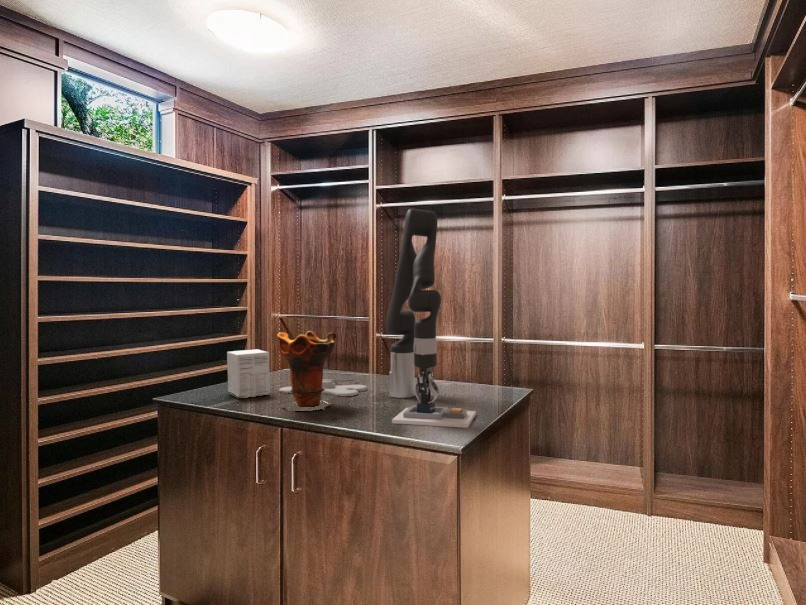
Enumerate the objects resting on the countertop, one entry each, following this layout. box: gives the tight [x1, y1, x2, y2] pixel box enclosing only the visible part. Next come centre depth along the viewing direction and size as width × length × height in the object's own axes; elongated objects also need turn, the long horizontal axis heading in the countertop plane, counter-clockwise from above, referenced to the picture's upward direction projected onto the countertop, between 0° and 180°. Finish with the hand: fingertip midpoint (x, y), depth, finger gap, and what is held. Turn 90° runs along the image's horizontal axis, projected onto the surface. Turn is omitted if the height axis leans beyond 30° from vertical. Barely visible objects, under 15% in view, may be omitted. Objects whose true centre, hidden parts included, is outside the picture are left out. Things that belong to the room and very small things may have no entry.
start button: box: [450, 407, 463, 413], centre depth 179 cm, size 3×3×2 cm
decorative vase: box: [276, 330, 337, 409], centre depth 202 cm, size 21×23×28 cm
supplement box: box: [226, 348, 271, 397], centre depth 224 cm, size 13×13×18 cm
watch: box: [414, 379, 440, 413], centre depth 182 cm, size 6×8×11 cm
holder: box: [278, 378, 368, 397], centre depth 231 cm, size 19×34×5 cm, turn 72°
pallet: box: [391, 405, 477, 429], centre depth 181 cm, size 24×17×3 cm
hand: (425, 404), depth 182 cm, fingers closed on watch, 3 cm apart
